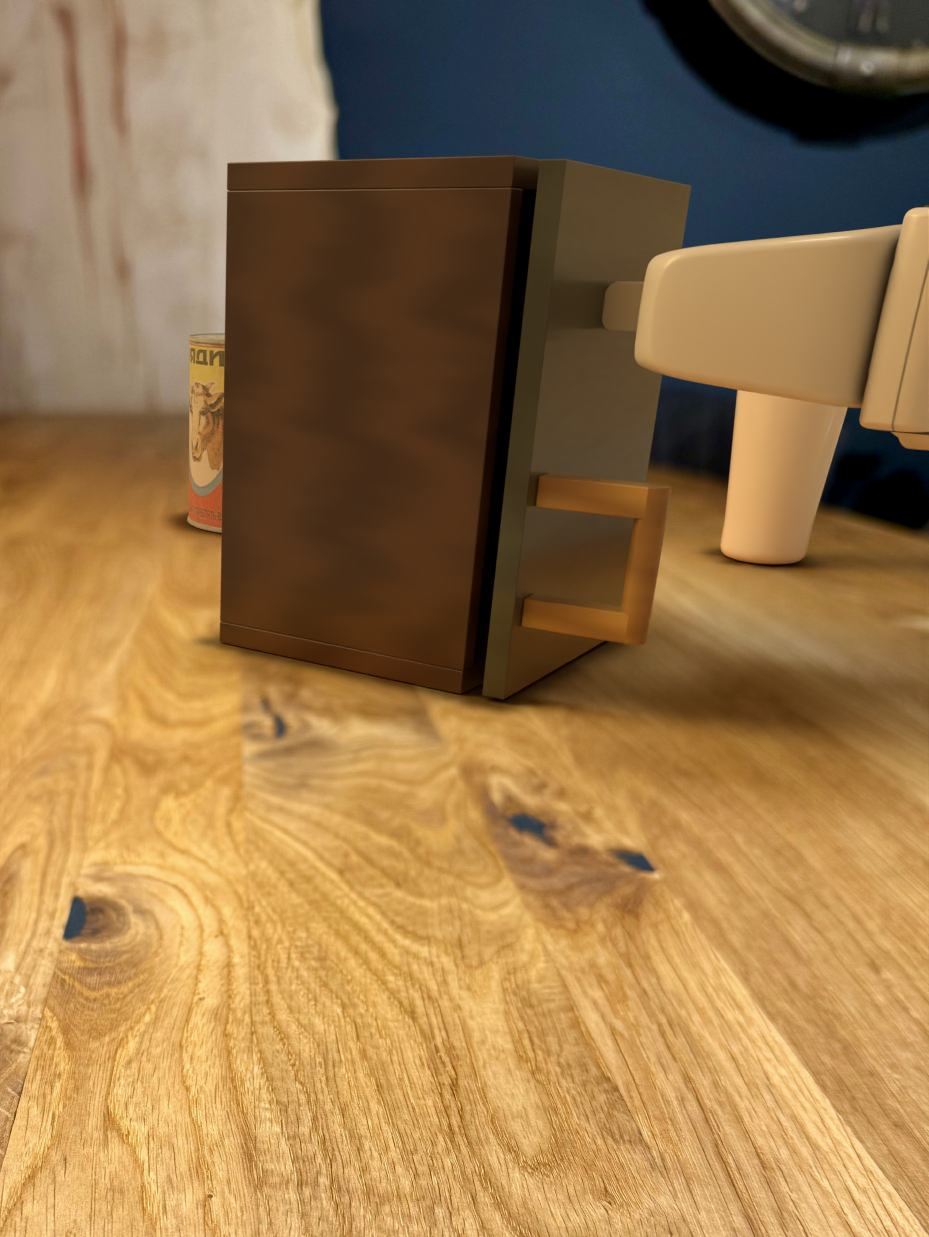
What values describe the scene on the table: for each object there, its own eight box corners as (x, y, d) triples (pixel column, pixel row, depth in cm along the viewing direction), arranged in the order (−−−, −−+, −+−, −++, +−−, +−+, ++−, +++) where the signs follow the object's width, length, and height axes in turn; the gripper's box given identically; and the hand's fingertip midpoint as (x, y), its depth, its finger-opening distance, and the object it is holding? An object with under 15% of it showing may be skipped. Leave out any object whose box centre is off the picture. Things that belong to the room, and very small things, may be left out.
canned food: (158, 515, 94) (157, 333, 89) (287, 504, 100) (293, 332, 94) (243, 542, 86) (247, 342, 80) (379, 529, 91) (391, 341, 86)
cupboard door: (725, 647, 64) (813, 184, 55) (622, 723, 52) (711, 155, 44) (604, 627, 67) (669, 185, 58) (481, 695, 55) (539, 158, 47)
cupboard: (599, 629, 67) (664, 181, 58) (460, 694, 56) (515, 154, 47) (380, 591, 74) (409, 184, 65) (219, 642, 63) (226, 162, 54)
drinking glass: (770, 546, 89) (818, 303, 82) (840, 566, 83) (897, 306, 77) (685, 550, 87) (727, 301, 80) (751, 570, 81) (802, 304, 75)
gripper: (1056, 232, 52) (714, 228, 60) (954, 203, 37) (515, 203, 45) (1010, 400, 55) (689, 377, 62) (899, 436, 40) (494, 401, 47)
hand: (614, 305), depth 53 cm, fingers closed, pressing on cupboard door
